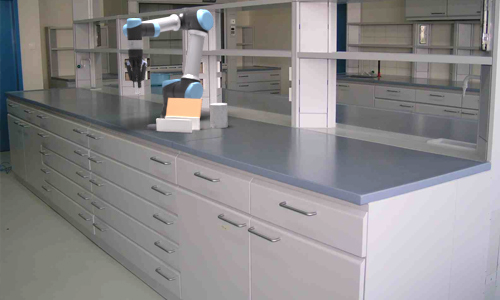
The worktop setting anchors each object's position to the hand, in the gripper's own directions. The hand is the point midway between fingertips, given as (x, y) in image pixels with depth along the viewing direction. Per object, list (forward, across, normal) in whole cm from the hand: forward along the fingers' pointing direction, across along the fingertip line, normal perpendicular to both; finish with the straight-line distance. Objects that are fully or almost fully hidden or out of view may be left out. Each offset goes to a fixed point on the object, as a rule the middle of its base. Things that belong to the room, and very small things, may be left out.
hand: (137, 94), depth 290 cm
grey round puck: (+19, +8, 0) cm, 20 cm away
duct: (+18, +24, 0) cm, 30 cm away
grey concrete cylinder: (+19, +38, +18) cm, 46 cm away
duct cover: (+7, +23, +7) cm, 25 cm away
